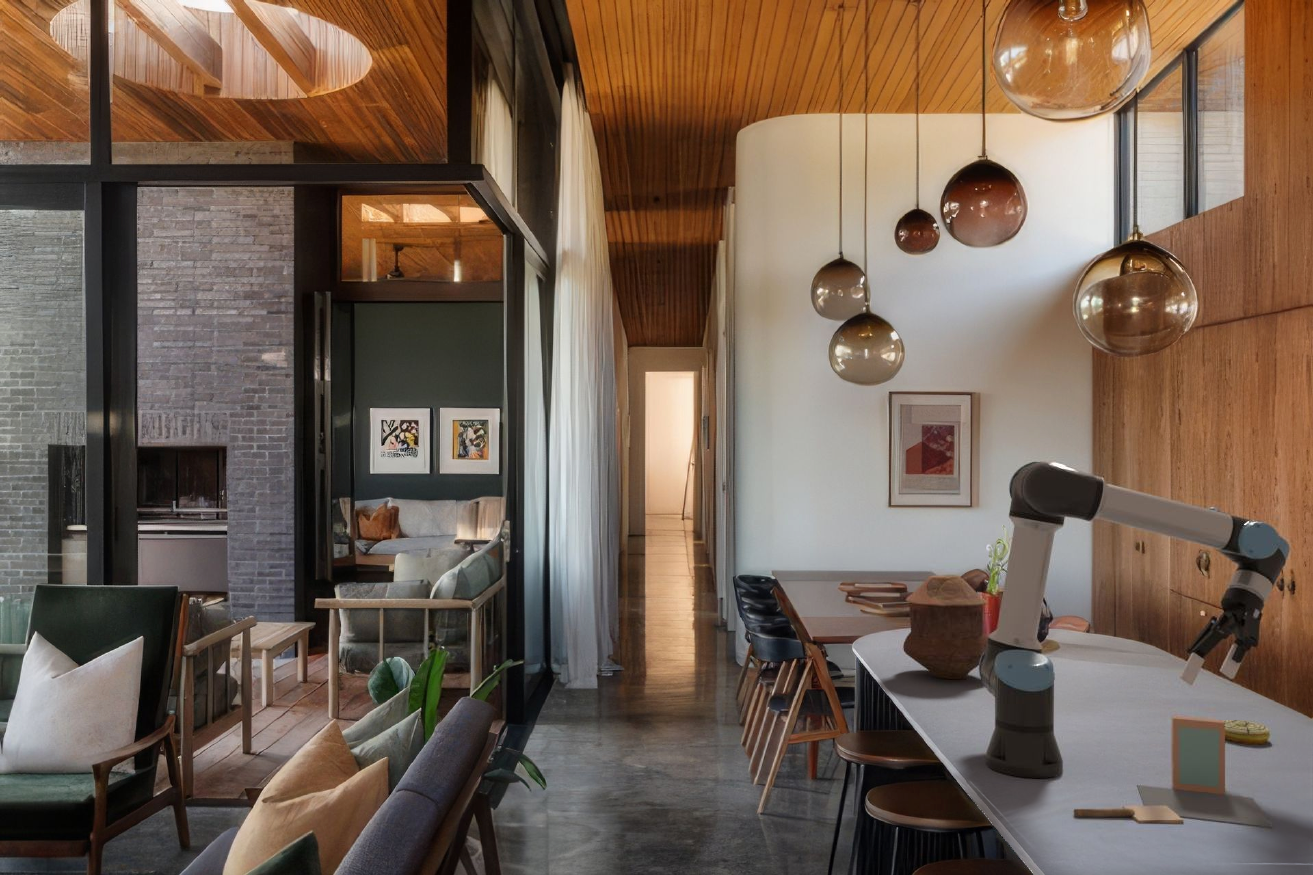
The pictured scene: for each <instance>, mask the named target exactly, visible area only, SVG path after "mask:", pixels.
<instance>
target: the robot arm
mask: <svg viewBox="0 0 1313 875" xmlns="http://www.w3.org/2000/svg"><path fill="white" fill-rule="evenodd" d="M1008 486H1009V488H1008V490H1009V496H1010V499H1011V501H1010V507H1009V513H1008V518H1009V519H1010V521H1011V522H1012V524H1013V526H1014V527H1013V532H1012V538H1011V544H1010V550H1009V555H1008V561H1007V566H1006V567H1007V568H1006V571H1005V572H1006V573H1005V579H1004V583H1003V584H1004V585H1003V590H1002V596H1001V602H1000V608H999V612H998V614H999V615H998V619H997V624H996V625H997V626H996V629H995V630H994V631H993V632H991V633H989V634H988V636H987V638H988V641H987V646H986V650H985V651H984V653H983V654H982V656H981V658H980V661H979V665H978V673H979V677H980V680H981V683H982V684H983V686H984V688H985V689H986V690H987V691H988V693H990V694H991V695H992V696H993V697H994V730H993V732H992V735H991V738H990V740H989V744H988V746H987V750H986V754H985V760H986V762H985V763H986V766H987V767H988V768H990V769H992V770H994V771H996V772H998V773H1002V774H1005V775H1011V776H1015V777H1020V778H1028V779H1029V778H1030V779H1032V778H1033V779H1048V778H1054V777H1057V776H1058V777H1059V776H1060V775H1062V774H1063V773H1064V772H1063V771H1064V769H1063V768H1064V767H1063V766H1064V760H1063V757H1062V754H1061V752H1060V748H1059V745H1058V742H1057V739H1056V736H1055V728H1054V726H1055V724H1054V722H1055V679H1056V675H1055V674H1056V673H1055V670H1054V668H1055V667H1054V664H1053V662H1052V660H1051V659H1050V658H1049V657H1047V656H1046V655H1044V654H1042V653H1043V646H1042V644H1041V642H1040V641H1039V639H1038V632H1039V626H1040V622H1041V617H1042V616H1041V614H1042V609H1043V603H1044V597H1045V592H1046V585H1047V580H1048V579H1047V578H1048V574H1049V568H1050V562H1051V558H1052V557H1051V555H1052V550H1053V545H1054V539H1055V533H1056V532H1057V531H1059V530H1060V529H1062V528H1063V527H1064V525H1065V519H1066V518H1072V519H1079V520H1083V521H1087V522H1092V521H1094V520H1096V519H1097V520H1102V521H1107V522H1111V523H1114V524H1118V525H1121V526H1126V527H1130V528H1134V529H1138V530H1142V531H1144V532H1145V531H1146V532H1150V533H1153V534H1158V535H1161V536H1165V537H1168V538H1172V539H1173V538H1174V539H1176V540H1182V541H1185V542H1188V543H1193V544H1196V545H1201V546H1205V547H1209V548H1212V549H1214V550H1215V551H1216V552H1219V553H1220V554H1221V555H1222V556H1225V557H1226V558H1228V559H1229V560H1230V561H1231V562H1232V563H1234V564H1236V565H1237V568H1236V570H1235V571H1234V573H1233V575H1232V577H1231V580H1230V581H1229V584H1228V586H1227V589H1226V590H1225V592H1224V594H1223V596H1222V598H1221V600H1220V606H1221V608H1222V610H1223V612H1222V614H1221V615H1220V616H1218V617H1217V616H1215V615H1212V616H1211V617H1210V619H1209V621H1208V623H1207V624H1206V626H1204V628H1202V630H1201V632H1200V633H1199V634H1198V635H1197V636H1196V637H1195V639H1194V640H1193V642H1191V644H1190V645H1189V646H1188V647H1187V649H1186V653H1188V654H1189V658H1188V659H1187V662H1186V664H1185V665H1184V667H1183V669H1182V672H1181V673H1180V675H1179V679H1180V680H1182V681H1183V682H1185V683H1186V684H1188V685H1189V686H1193V685H1194V683H1195V681H1196V679H1197V677H1198V674H1199V673H1200V671H1201V669H1202V666H1203V664H1204V663H1205V662H1206V660H1205V657H1206V656H1207V655H1208V654H1209V653H1210V652H1212V650H1213V649H1214V648H1215V647H1216V646H1217V645H1218V644H1219V643H1220V642H1221V641H1222V640H1227V639H1228V638H1229V637H1230V636H1231V635H1233V634H1234V640H1233V641H1232V642H1233V643H1234V644H1232V645H1231V647H1230V648H1229V650H1228V653H1227V655H1226V657H1225V659H1224V660H1223V663H1222V665H1221V667H1220V669H1219V672H1220V673H1221V674H1223V675H1225V676H1226V677H1227V678H1228V679H1230V680H1234V678H1235V677H1236V674H1237V673H1238V670H1239V668H1240V667H1241V664H1242V662H1243V660H1244V658H1245V656H1246V654H1247V652H1249V651H1250V650H1251V648H1256V647H1258V646H1259V640H1260V627H1261V626H1260V625H1261V620H1262V618H1263V616H1264V615H1263V614H1264V613H1263V612H1262V611H1263V610H1264V607H1265V604H1266V603H1267V601H1268V600H1269V599H1270V595H1271V592H1272V590H1273V588H1274V586H1275V583H1276V582H1277V579H1278V578H1279V575H1280V573H1281V571H1282V570H1283V568H1284V567H1285V566H1286V563H1287V560H1288V557H1289V553H1290V551H1291V547H1290V544H1289V543H1288V541H1287V540H1286V539H1285V538H1284V537H1282V536H1280V535H1279V533H1278V531H1277V529H1275V528H1274V527H1273V526H1272V525H1270V524H1268V523H1267V522H1263V521H1261V520H1252V519H1248V518H1244V517H1240V516H1237V515H1231V514H1228V513H1226V512H1225V511H1222V510H1220V509H1218V508H1217V507H1212V506H1211V507H1210V506H1209V507H1208V508H1204V507H1200V506H1196V505H1192V504H1189V503H1186V502H1185V503H1184V502H1181V501H1177V500H1173V499H1168V498H1165V497H1160V496H1159V495H1158V496H1157V495H1153V494H1150V493H1145V492H1143V491H1142V492H1141V491H1137V490H1134V489H1129V488H1126V487H1122V486H1117V485H1113V484H1109V483H1107V482H1106V480H1105V479H1104V478H1103V477H1101V476H1096V475H1094V474H1091V473H1087V472H1084V471H1081V470H1079V469H1075V468H1074V467H1071V466H1068V465H1066V464H1063V463H1061V462H1055V461H1040V460H1038V461H1037V460H1036V461H1031V462H1028V463H1026V464H1024V465H1022V466H1021V467H1019V468H1018V469H1017V470H1016V471H1015V472H1014V473H1013V475H1012V476H1011V479H1010V480H1009V485H1008Z"/></svg>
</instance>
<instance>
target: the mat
mask: <svg viewBox="0 0 1313 875" xmlns="http://www.w3.org/2000/svg"><path fill="white" fill-rule="evenodd" d="M1136 787H1137V790H1138V793H1139V795H1140V799H1141V800H1142V804H1143V806H1167V807H1169V808H1170V809H1171V810H1172V811H1173V812H1175V813H1176V814H1177V815H1178V816H1179V817H1181V818H1182V819H1184V818H1185V819H1193V820H1200V821H1208V822H1216V823H1225V824H1232V825H1233V824H1234V825H1241V826H1242V825H1243V826H1250V827H1256V828H1257V827H1260V828H1267V829H1274V826H1273V825H1272V824H1271V822H1270V820H1269V819H1268V818H1267V817H1266V815H1265V814H1264V812H1263V810H1262V809H1261V807H1260V805H1258V803H1257V802H1256V800H1255V799H1254V797H1248V796H1240V795H1230V794H1225V795H1223V794H1215V793H1206V792H1197V791H1188V790H1179V789H1173V788H1168V787H1161V786H1160V787H1159V786H1149V785H1141V784H1136Z"/></svg>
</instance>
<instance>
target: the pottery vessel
mask: <svg viewBox="0 0 1313 875" xmlns="http://www.w3.org/2000/svg"><path fill="white" fill-rule="evenodd" d="M905 601H906V603H909V623H910V632H909V633H908V635H907V636H906V638H905V640H904V642H903V647H902V648H903V651H904V653H905V654H906V655H907V656H908V657H910V658H911V659H912V660H913V661H915V662H917V663H918V664H919V665H920V666H922V667H923V668H925V670H928V671H929V672H930V673H931V674H932V676H934V677H935V678H940V679H947V680H948V679H950V680H962V679H966V678H967V676H968V675H969V673H971V672H972V671H973V670H974V669H976V668H977V667H979V661H980V658H981V656H982V654H983V653H984V651H985V650H986V646H987V641H988V636H986V633H984V627H985V626H984V606H986V605H988V604H989V603H988V601H987V600H985V599H984V598H982V596H980V594H979V593H978V592H977V591H976V590H975V589H974V588H973V587H972V586H971V585H970V584H969V583H968V582H967V581H966V580H964V579H963V577H961V576H959V575H957V574H937V575H930V576H929V577H928V578H927V579H926V580H925V581H923V583H922V584H921V585H920V586H918V587H917V589H915V590H914V591H913V593H911V594H910V595H909V596H907V597H906V599H905Z"/></svg>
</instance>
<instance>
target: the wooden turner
mask: <svg viewBox="0 0 1313 875" xmlns="http://www.w3.org/2000/svg"><path fill="white" fill-rule="evenodd" d="M1073 815H1074V816H1075V817H1076V818H1121V817H1122V818H1123V817H1124V818H1129V817H1130V818H1132V819H1133V820H1134V821H1135V822H1137V823H1139V824H1140V823H1141V824H1142V823H1143V824H1184V818H1182V817H1179V816H1178V815H1177V814H1176V813H1175V812H1173V811H1172V810H1171V809H1170V808H1169V807H1167V806H1144V805H1122V808H1074V809H1073Z"/></svg>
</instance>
